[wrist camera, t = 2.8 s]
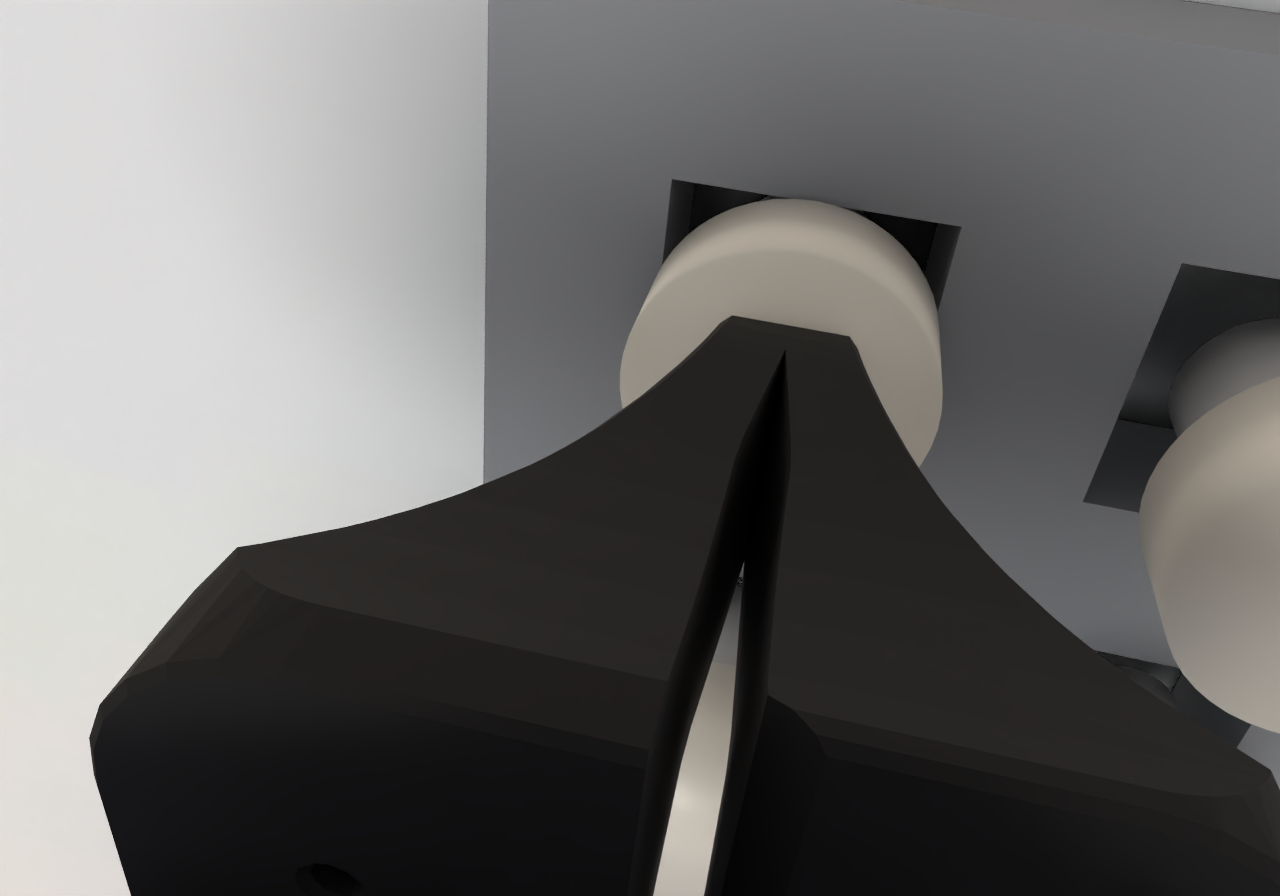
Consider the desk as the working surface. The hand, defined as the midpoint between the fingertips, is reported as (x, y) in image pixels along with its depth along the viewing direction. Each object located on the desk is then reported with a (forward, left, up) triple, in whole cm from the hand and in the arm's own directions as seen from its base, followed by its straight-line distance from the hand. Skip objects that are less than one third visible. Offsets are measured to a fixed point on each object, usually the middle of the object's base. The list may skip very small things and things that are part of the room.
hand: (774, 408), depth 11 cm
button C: (0, 0, -4) cm, 4 cm away
